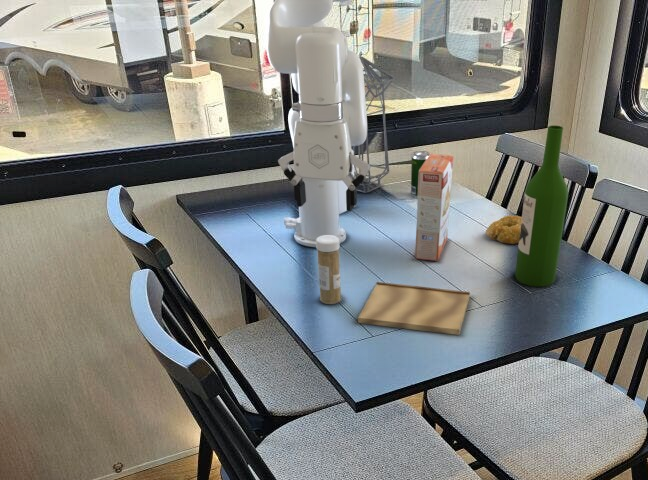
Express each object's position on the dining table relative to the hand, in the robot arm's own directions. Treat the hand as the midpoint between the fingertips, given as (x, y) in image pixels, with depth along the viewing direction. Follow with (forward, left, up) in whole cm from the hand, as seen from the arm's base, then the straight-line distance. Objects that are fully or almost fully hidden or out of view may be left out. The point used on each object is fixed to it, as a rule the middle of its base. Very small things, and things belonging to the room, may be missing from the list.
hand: (326, 206), depth 130 cm
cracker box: (+16, +31, -20) cm, 41 cm away
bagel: (+33, +43, -20) cm, 58 cm away
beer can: (+6, +68, -20) cm, 71 cm away
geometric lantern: (-12, +71, -20) cm, 75 cm away
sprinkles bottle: (0, 0, -20) cm, 20 cm away
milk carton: (-14, +52, -20) cm, 58 cm away
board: (+18, 0, -20) cm, 27 cm away
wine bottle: (+41, +21, -20) cm, 50 cm away
